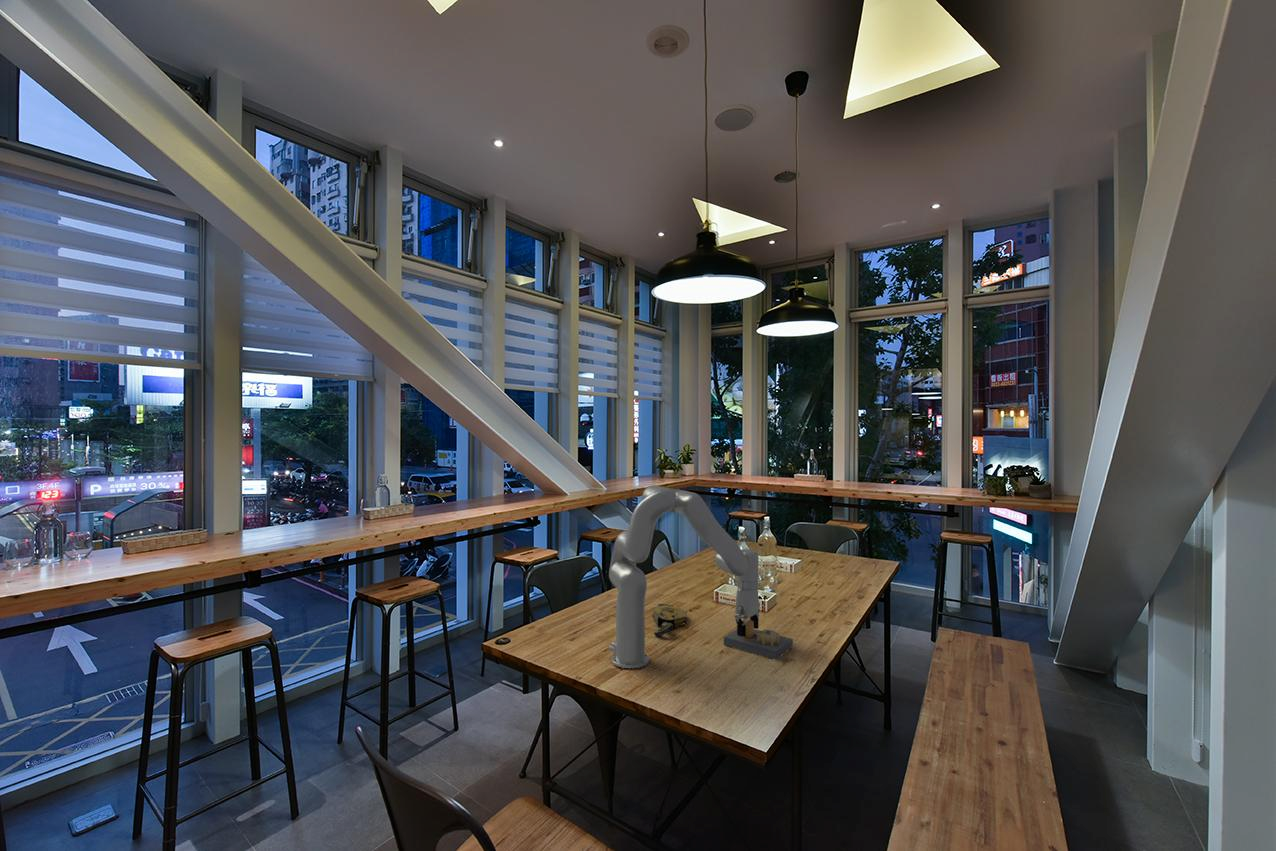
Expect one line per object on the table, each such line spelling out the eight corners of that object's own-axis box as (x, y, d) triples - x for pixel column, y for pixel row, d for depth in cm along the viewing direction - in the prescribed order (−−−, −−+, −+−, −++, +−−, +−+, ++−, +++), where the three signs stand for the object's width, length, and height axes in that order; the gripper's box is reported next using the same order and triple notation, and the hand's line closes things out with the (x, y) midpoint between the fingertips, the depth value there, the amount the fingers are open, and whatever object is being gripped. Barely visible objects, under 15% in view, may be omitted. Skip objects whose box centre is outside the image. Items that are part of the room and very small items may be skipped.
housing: (723, 645, 193) (723, 627, 193) (742, 634, 204) (742, 616, 204) (775, 660, 180) (775, 640, 180) (792, 647, 191) (792, 629, 191)
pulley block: (643, 620, 200) (658, 597, 229) (640, 636, 200) (656, 610, 229) (680, 629, 197) (690, 605, 226) (677, 645, 197) (688, 618, 226)
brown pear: (740, 643, 194) (740, 621, 194) (745, 640, 197) (745, 618, 197) (750, 646, 192) (750, 624, 192) (755, 643, 195) (755, 621, 195)
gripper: (749, 577, 204) (749, 622, 204) (726, 587, 191) (726, 636, 190) (768, 581, 199) (768, 627, 199) (745, 591, 186) (745, 641, 186)
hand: (747, 631), depth 195 cm, fingers open, 9 cm apart
